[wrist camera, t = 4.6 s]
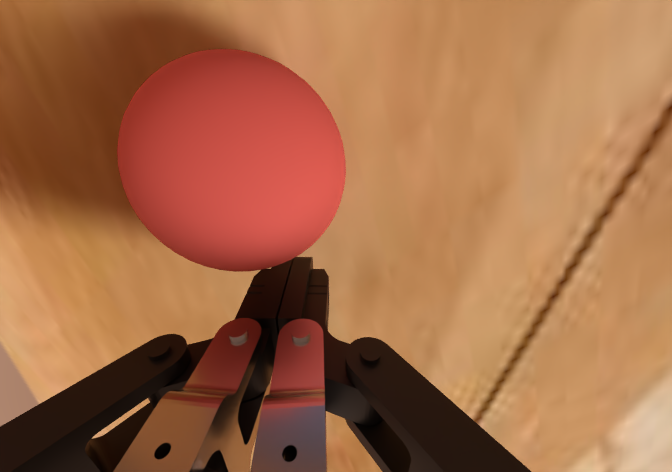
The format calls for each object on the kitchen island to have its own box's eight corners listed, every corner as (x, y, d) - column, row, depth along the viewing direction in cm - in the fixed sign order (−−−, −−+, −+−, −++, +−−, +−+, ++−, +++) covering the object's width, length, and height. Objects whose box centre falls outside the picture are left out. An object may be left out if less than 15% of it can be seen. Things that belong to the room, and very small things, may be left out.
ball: (339, 265, 11) (328, 124, 12) (378, 258, 5) (352, -17, 6) (182, 277, 11) (179, 127, 11) (31, 285, 5) (45, -30, 5)
